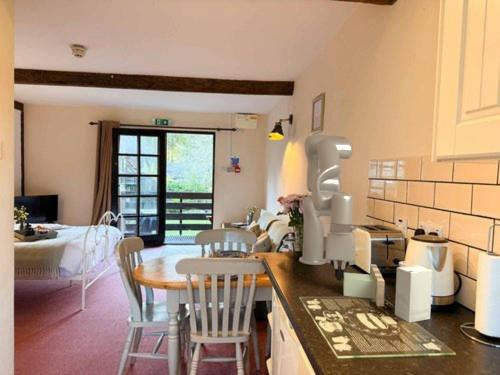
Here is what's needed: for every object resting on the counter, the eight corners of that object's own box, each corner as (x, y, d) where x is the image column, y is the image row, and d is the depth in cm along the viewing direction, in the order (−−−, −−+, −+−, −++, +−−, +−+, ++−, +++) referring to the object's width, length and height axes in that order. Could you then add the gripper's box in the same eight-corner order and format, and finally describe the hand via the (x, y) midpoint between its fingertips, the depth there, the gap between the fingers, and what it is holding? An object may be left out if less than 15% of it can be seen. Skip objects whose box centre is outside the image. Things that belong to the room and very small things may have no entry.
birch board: (369, 285, 134) (370, 264, 133) (375, 285, 133) (376, 264, 133) (376, 305, 112) (378, 281, 112) (383, 306, 112) (384, 281, 112)
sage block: (343, 288, 129) (343, 272, 129) (371, 291, 127) (372, 274, 126) (343, 295, 121) (344, 278, 121) (374, 298, 119) (375, 281, 119)
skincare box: (415, 312, 108) (417, 264, 107) (431, 320, 102) (434, 269, 102) (393, 315, 105) (395, 266, 104) (408, 323, 99) (411, 271, 99)
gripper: (362, 228, 126) (360, 278, 127) (320, 225, 130) (318, 274, 131) (363, 231, 119) (361, 284, 120) (319, 228, 123) (317, 280, 124)
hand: (339, 279), depth 125 cm, fingers closed
